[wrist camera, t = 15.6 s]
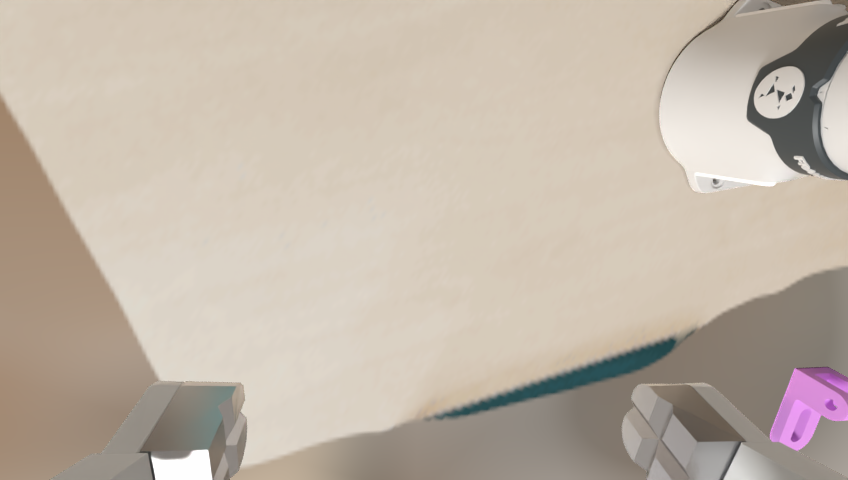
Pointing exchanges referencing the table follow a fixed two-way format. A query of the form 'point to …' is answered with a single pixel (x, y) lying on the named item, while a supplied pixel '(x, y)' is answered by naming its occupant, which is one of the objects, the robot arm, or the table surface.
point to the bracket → (809, 404)
